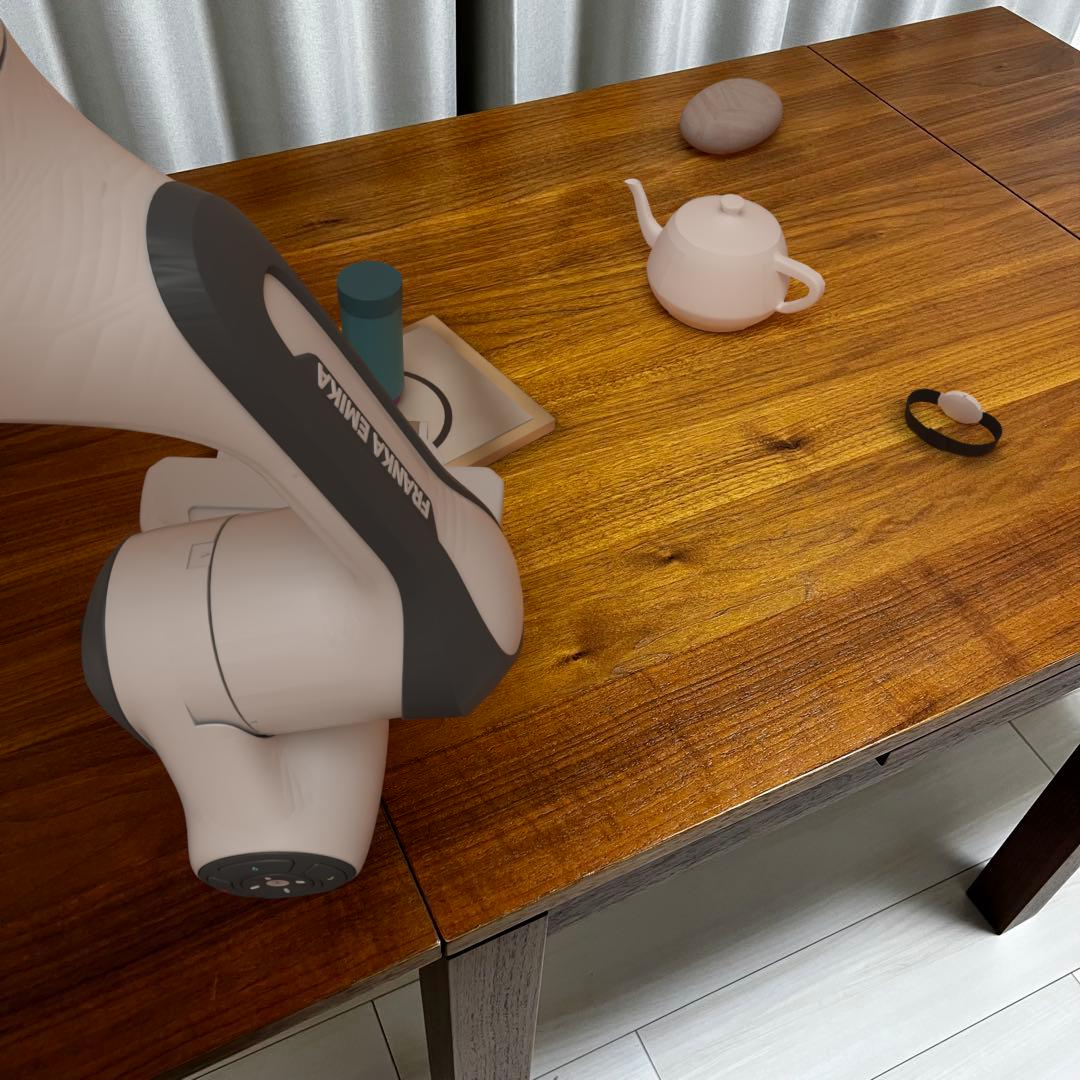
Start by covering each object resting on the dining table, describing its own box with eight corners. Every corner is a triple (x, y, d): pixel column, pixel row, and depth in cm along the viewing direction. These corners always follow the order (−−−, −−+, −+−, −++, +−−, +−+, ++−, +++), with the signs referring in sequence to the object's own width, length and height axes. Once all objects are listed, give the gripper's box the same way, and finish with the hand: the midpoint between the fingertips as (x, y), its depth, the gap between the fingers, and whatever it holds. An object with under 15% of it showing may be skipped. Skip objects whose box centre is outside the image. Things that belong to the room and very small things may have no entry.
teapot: (575, 283, 106) (585, 182, 98) (652, 224, 113) (667, 125, 105) (770, 381, 98) (797, 280, 91) (840, 312, 105) (871, 212, 98)
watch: (1002, 439, 95) (1018, 405, 93) (981, 472, 93) (997, 438, 90) (912, 399, 98) (925, 365, 95) (890, 430, 95) (902, 396, 93)
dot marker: (368, 425, 90) (360, 308, 82) (334, 392, 92) (323, 275, 84) (418, 401, 92) (415, 284, 84) (384, 370, 94) (378, 253, 86)
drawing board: (314, 558, 83) (312, 543, 82) (199, 430, 91) (196, 415, 90) (555, 430, 93) (556, 415, 92) (433, 325, 101) (433, 310, 100)
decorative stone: (723, 179, 119) (732, 133, 115) (655, 143, 123) (661, 97, 119) (798, 136, 125) (809, 91, 122) (731, 102, 129) (739, 58, 125)
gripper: (512, 571, 62) (511, 392, 71) (109, 560, 60) (161, 380, 70) (507, 643, 66) (506, 467, 76) (133, 635, 65) (178, 457, 74)
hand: (338, 425), depth 73 cm, fingers open, 8 cm apart
